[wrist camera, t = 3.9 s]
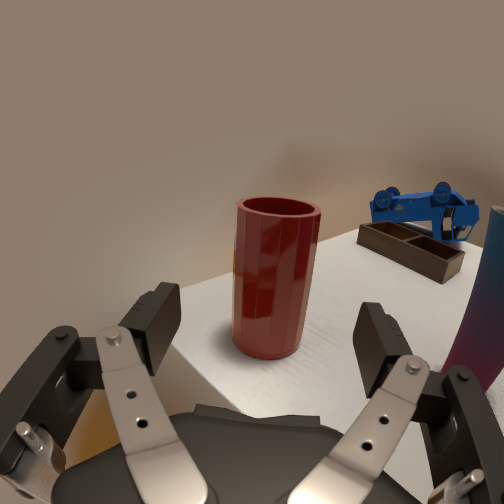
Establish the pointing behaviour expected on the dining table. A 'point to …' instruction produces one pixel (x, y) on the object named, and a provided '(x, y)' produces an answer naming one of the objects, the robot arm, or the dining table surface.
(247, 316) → the tumbler
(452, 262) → the caddy
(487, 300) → the cup
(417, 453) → the dining table surface
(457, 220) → the toy vehicle
